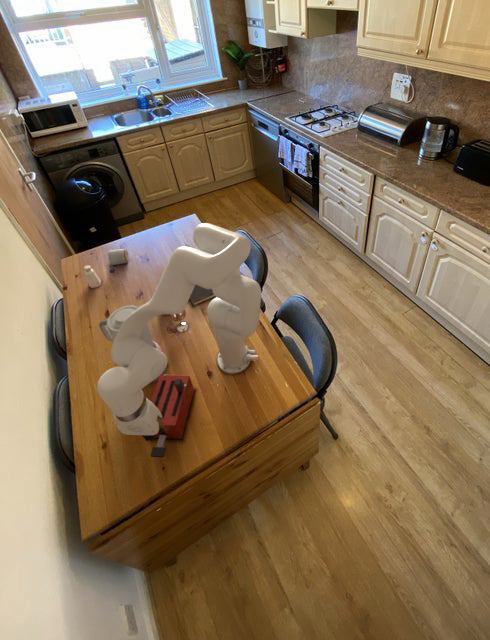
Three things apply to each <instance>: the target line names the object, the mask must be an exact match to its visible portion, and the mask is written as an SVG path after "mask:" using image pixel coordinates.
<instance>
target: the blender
mask: <svg viewBox="0 0 490 640" xmlns="http://www.w3.org/2000/svg"><path fill="white" fill-rule="evenodd" d="M139 307H140V306H137V305H133V304H131V305H130V304H129V305H124V306H121V307H119V308H116V309H115V310H114V311H112V312H111V314H110V315H109V316H108V318H107V319H103V320H101V321H100V322H99V324H98V326H99V329H100V330H101V333H102V334H103V336H104V337H105V339H106V340H107V341H109V342H114V340H115V338H116V336H117V334H118V331H119V329H120V327H121V325H122V324H123V322H124V321H125V320H126V318H127V317H128V316H129V315H131V314H132V313H133V312H134V311H135V310H136V309H138V308H139ZM139 339H140V340H142V341H144V342H146V343H147V344H149V345H151V346H152V347H154V348H156V349H158V350H160V351H161V352H163V351H162V349H161V346H160V345H159V344H158V343H157V342H156V341H155V340H154V337H153V332H152V329H151V326H150V323H149V322H148V323H147V324H146V325H145V326H144V328H143V330H142V332H141V334H140V337H139ZM167 367H168V365H167V366H166V368H165V370H164V371H163V373H162V374H161V375H165V374H166V371H167ZM159 376H160V375H159ZM159 376H158V377H157V378H156V379H154V380H153V381H152V382H150V383H149V384H148V385H151V384H154V383H157V382H158V379H159Z"/></svg>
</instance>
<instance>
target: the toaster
mask: <svg viewBox="0 0 490 640" xmlns="http://www.w3.org/2000/svg"><path fill="white" fill-rule="evenodd" d="M176 379H181V380H182V382H183V385H184V388H183V391H182V392H177V389H176V387H175V385H174V384H175V381H176ZM195 395H196V389H195V387H194V385H193V382H192V379H191V377H190V375H186V374H185V375H180V374H164V375H160V376H159V379H158V380H157V381H156V385H155V388H154V390H153V394H152V397H151V399H150V401H151V402H152V403H153V404H154V405H155V406H156V407H157V408H158V410H159V411H160V413H161V415H162V419H160V420H161V421H162V422H163V423H164V427H163V429H159V431H158V433H157V434H155V437H153V440H157V441H158V440H159V436H160V435H166V439H165V441H184V437H185V433H186V429H187V427H188V426H187V425H188V421H189V418H190V413H191V410H192V405H193V402H194V398H195Z"/></svg>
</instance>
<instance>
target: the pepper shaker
mask: <svg viewBox="0 0 490 640" xmlns="http://www.w3.org/2000/svg"><path fill="white" fill-rule="evenodd" d="M83 270H84V276H85V278H86V281H87V283H88V286H89V287H90V288H91V289H94V288H98V287H100V286H101V285H102V280H101V279H100V277H99V275H98V274H97V273H96V271H95V270H94V269H93V268H92V267H91V265H89V264H88V265H85V266H83Z"/></svg>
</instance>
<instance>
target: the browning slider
mask: <svg viewBox="0 0 490 640" xmlns="http://www.w3.org/2000/svg"><path fill="white" fill-rule="evenodd" d="M174 385H175V387H176V389H177V392H182V391H183V388H184V385H183V382H182V380H181V379H176V381H175V384H174Z"/></svg>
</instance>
